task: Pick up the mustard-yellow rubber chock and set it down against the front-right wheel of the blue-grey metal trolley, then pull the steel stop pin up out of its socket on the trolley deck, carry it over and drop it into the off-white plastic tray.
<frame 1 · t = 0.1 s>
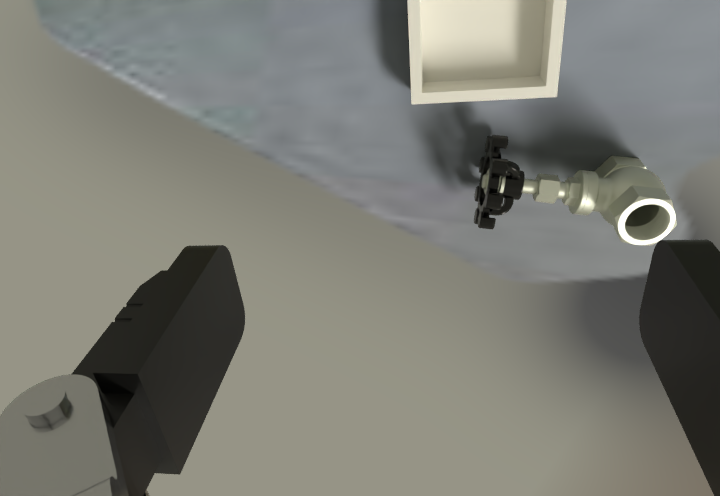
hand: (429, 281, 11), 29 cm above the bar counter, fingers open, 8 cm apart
tray: (481, 16, 35), on the bar counter
valve: (561, 170, 40), on the bar counter
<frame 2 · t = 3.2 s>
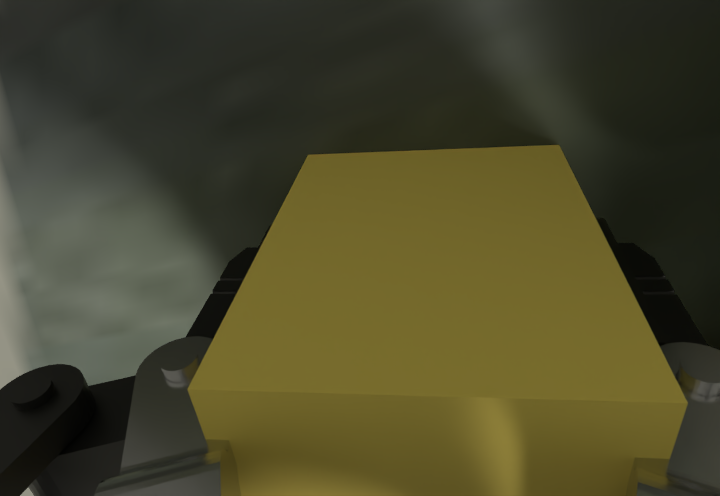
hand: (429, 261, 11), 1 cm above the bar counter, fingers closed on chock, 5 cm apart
chock: (432, 272, 13), on the bar counter, touching gripper
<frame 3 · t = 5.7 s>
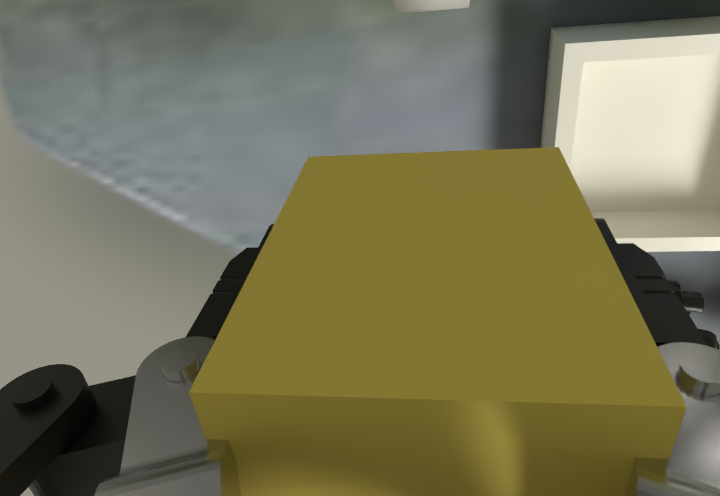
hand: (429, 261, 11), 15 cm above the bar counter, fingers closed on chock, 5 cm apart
tray: (647, 128, 24), on the bar counter
chock: (432, 274, 13), point 14 cm above the bar counter, touching gripper
when the fingers open (2 cm above the bar counter, at t = 8.4 s): chock drops 1 cm, on the bar counter.
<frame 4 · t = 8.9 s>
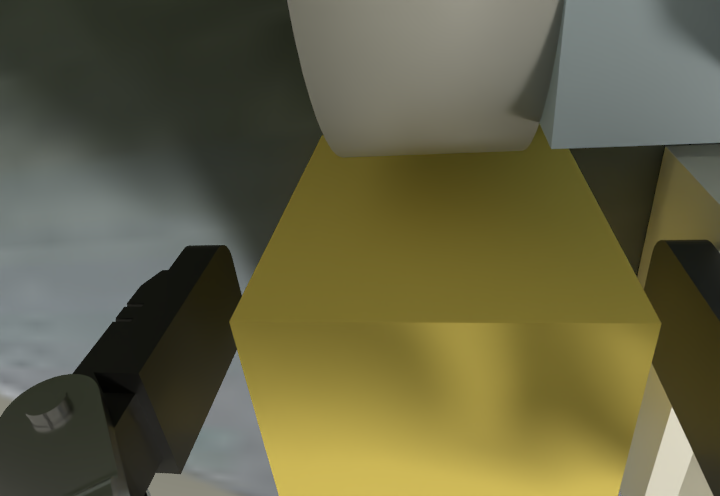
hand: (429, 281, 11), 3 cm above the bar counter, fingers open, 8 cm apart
chock: (437, 245, 13), on the bar counter
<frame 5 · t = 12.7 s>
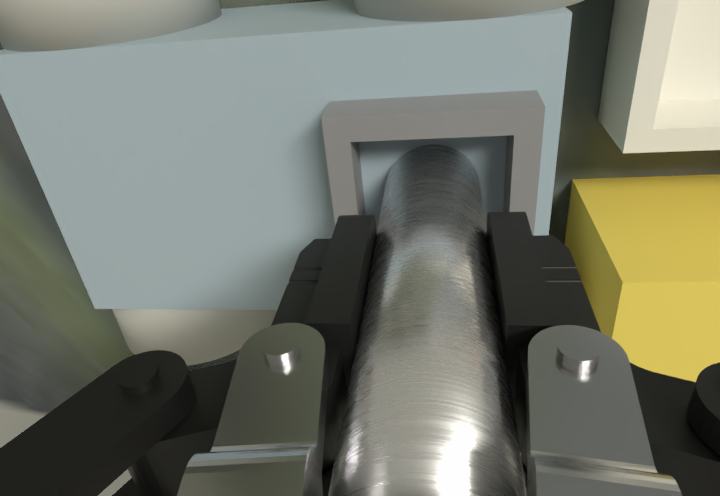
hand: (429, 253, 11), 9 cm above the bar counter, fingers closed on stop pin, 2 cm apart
stop pin: (432, 188, 14), point 6 cm above the bar counter, touching gripper, trolley
chock: (647, 235, 21), on the bar counter
trolley: (322, 118, 20), on the bar counter
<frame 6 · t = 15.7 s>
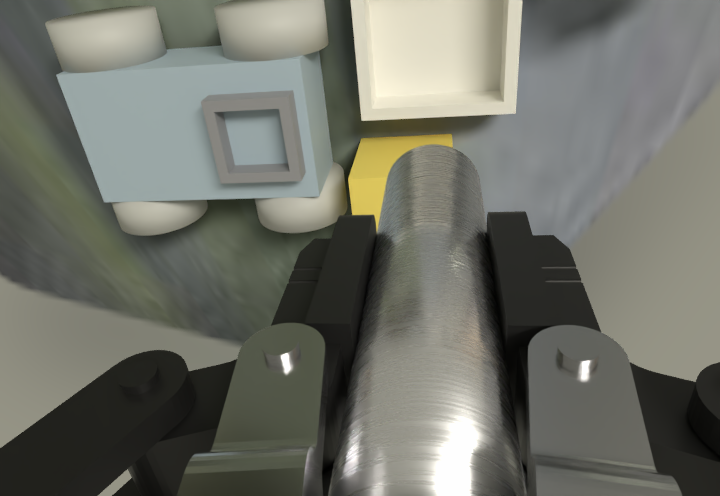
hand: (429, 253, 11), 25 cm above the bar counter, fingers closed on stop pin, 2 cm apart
stop pin: (432, 188, 14), point 22 cm above the bar counter, touching gripper
tray: (435, 26, 32), on the bar counter
chock: (407, 170, 38), on the bar counter
trolley: (226, 105, 36), on the bar counter
when the fingers open (6 cm above the bar counter, at t = 18.7 s): stop pin drops 2 cm, resting on tray.
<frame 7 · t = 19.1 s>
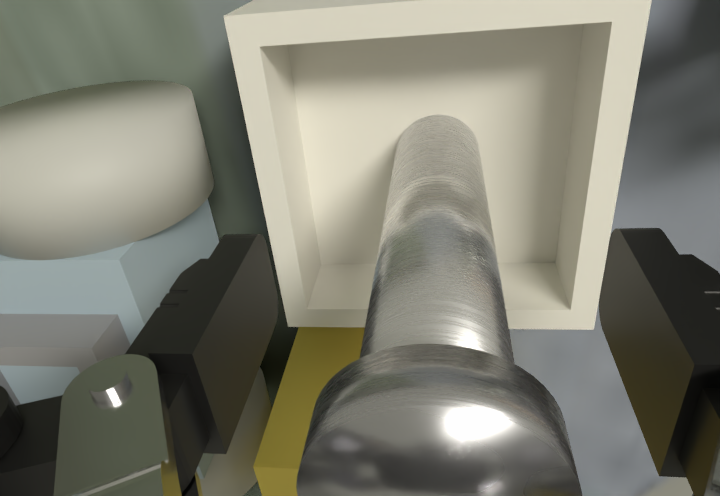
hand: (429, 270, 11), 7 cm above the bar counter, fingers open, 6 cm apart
stop pin: (437, 154, 16), point 1 cm above the bar counter, touching tray
tray: (432, 147, 16), on the bar counter
chock: (384, 367, 22), on the bar counter
trolley: (60, 262, 21), on the bar counter
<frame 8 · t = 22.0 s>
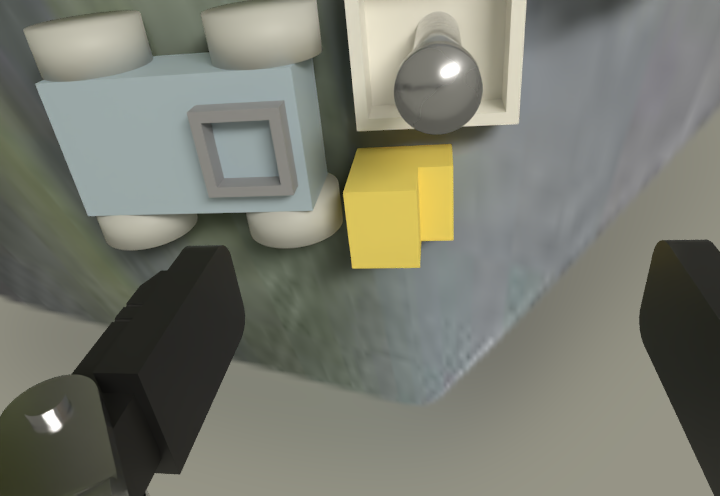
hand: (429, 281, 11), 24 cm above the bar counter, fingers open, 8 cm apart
stop pin: (437, 34, 30), point 1 cm above the bar counter, touching tray
tray: (434, 32, 31), on the bar counter
chock: (405, 181, 36), on the bar counter
trolley: (216, 114, 35), on the bar counter
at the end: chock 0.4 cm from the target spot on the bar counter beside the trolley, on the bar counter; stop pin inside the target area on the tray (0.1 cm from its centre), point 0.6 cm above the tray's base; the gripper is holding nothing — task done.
